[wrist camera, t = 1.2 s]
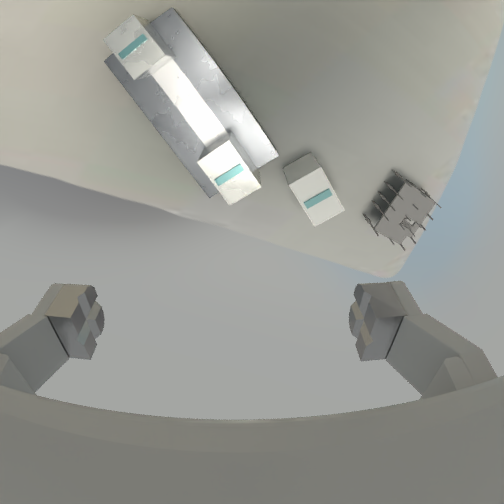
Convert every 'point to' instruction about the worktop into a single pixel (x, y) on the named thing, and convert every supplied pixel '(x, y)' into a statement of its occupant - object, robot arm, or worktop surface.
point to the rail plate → (190, 103)
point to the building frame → (403, 212)
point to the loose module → (312, 189)
